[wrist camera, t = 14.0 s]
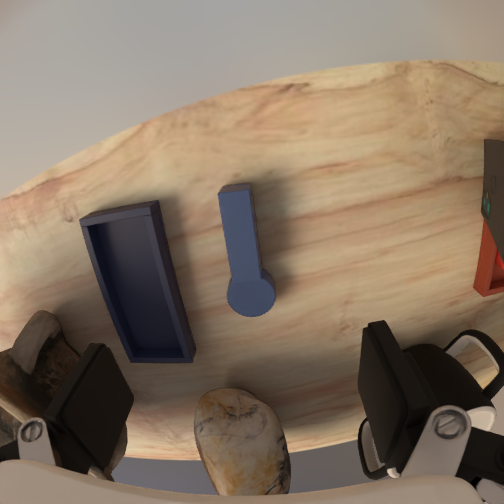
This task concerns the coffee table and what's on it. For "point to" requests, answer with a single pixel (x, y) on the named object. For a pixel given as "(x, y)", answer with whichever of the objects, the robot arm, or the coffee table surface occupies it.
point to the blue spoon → (244, 253)
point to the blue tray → (139, 282)
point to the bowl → (39, 380)
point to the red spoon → (499, 260)
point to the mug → (446, 389)
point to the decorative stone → (241, 444)
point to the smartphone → (494, 191)
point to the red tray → (488, 267)
